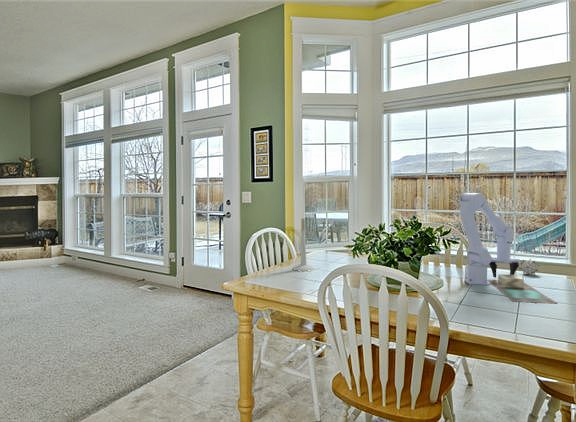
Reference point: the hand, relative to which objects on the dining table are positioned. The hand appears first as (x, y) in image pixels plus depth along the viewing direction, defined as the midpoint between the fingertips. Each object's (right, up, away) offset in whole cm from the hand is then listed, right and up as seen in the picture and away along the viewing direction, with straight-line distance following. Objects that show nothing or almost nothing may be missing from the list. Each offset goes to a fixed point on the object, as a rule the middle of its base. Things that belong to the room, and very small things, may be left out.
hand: (503, 277), depth 179 cm
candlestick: (-98, -1, +32) cm, 103 cm away
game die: (+19, -1, +10) cm, 22 cm away
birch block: (-2, -2, -9) cm, 9 cm away
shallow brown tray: (-4, -3, -17) cm, 17 cm away
